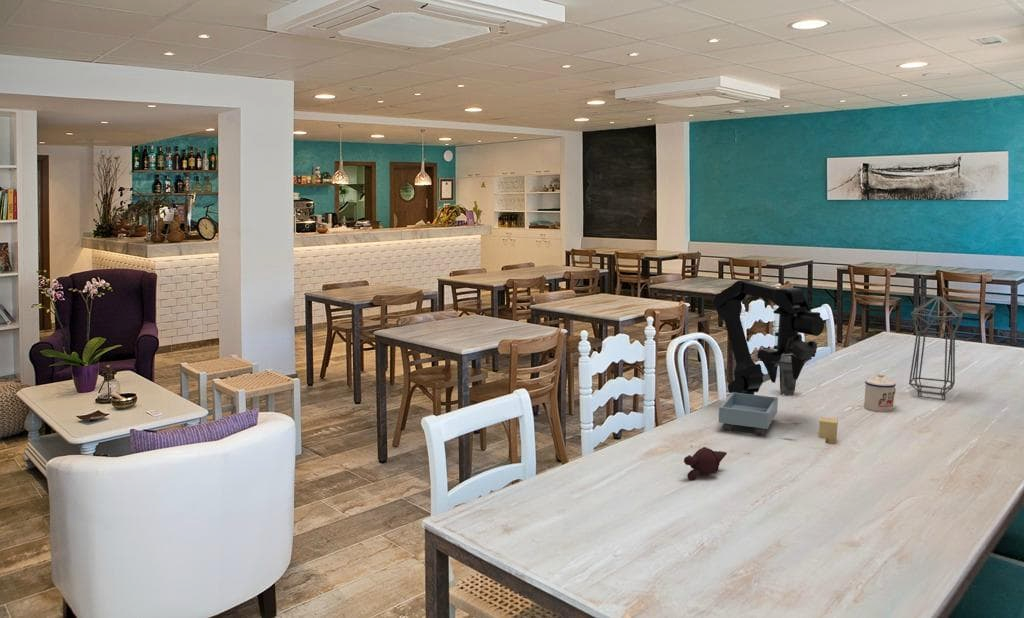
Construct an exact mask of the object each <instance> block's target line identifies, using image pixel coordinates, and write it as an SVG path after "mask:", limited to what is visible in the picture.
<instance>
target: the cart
mask: <svg viewBox="0 0 1024 618" xmlns="http://www.w3.org/2000/svg"><path fill="white" fill-rule="evenodd" d="M778 404H779V397H776V396H768V395H759V394H754V395H751V394H743V393H734V392H732V393H730V394H729V396H728V397H727V398H726V399H725V400H723V403H722V404H721V405H720V406H719V407H718V424H719V423H720V424H722V430H724V432H725V431H729V430H730V431H731V429H732V427H733V425H734V426H735V425H736V426H742V427H748V428H749V427H750V428H754V429H755V430H754V434H757V435H759V436H758V437H761V436H760V435H764V433H765V430H768V429H769V427H770V426H771V423H772V422H773V421H772V420H774V419H775V417H776V415H777V413H778V406H779V405H778Z"/></svg>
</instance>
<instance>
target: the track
mask: <svg viewBox="0 0 1024 618" xmlns="http://www.w3.org/2000/svg"><path fill="white" fill-rule="evenodd" d="M772 422H775V423H781V424H783V423H784V424H789V425H790V424H791V425H796V426H797V425H798V426H806V424H805V423H799V422H794V421H793V422H792V421H786V420H785V421H783V420H776V419H773V420H772ZM724 432H725V433H733V434H740V435H747V436H756V437H761V438H762V437H763V438H769V439H777V440H784V441H792V442H799V439H795V438H789V437H788V438H787V437H781V436H773V435H767V434H766V435H765V434H762V435H760V436H759V435H757V434H756V433H752V432H744V431H735V430H731V429H730V430H729V431H725V430H724Z"/></svg>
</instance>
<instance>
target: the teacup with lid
mask: <svg viewBox="0 0 1024 618" xmlns="http://www.w3.org/2000/svg"><path fill="white" fill-rule="evenodd" d="M864 384H865V386H864V387H865V389H864V402H863V407H864V409H866V410H869V411H873V412H880V413H888V412H892V411H893V409H894V401H895V395H896V393H897V392H896V391H897V389H896V382H895V381H893V380H891V379H889V378H888V377H886V376H885V374H884V373H882V372H881V373H880V372H879V373H877V375H876V376H873V377H870V378H867V379H865V381H864Z"/></svg>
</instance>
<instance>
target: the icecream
mask: <svg viewBox="0 0 1024 618" xmlns="http://www.w3.org/2000/svg"><path fill="white" fill-rule="evenodd" d="M727 454H728V452H727V451H717V450H712V449H710V448H709V447H706V446H703V447H701V448H699V449H698V450H696V451H695V453H694V454H693V455H692V456H691V455H690V454H689V455H686V456H685V457H684V459H683V463H684V464H685V466H690V468H691V470H689V472H688V474H687V479H688V480H691V481H692V480H695V479H696V478H697V477H699V476H700V475H705V476H709V475H713V474H715V473H718V472H719V468H720V463H721V462H722V460H723V459H724V458H725V457H726V456H727Z"/></svg>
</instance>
